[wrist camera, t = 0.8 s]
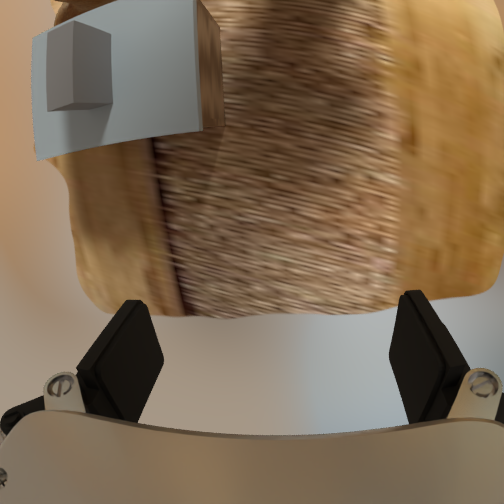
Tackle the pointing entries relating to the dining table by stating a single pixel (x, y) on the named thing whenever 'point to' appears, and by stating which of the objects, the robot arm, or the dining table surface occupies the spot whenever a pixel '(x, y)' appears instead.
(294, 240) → the dining table surface
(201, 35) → the crate
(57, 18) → the tan boot
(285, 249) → the dining table surface
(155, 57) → the lid
